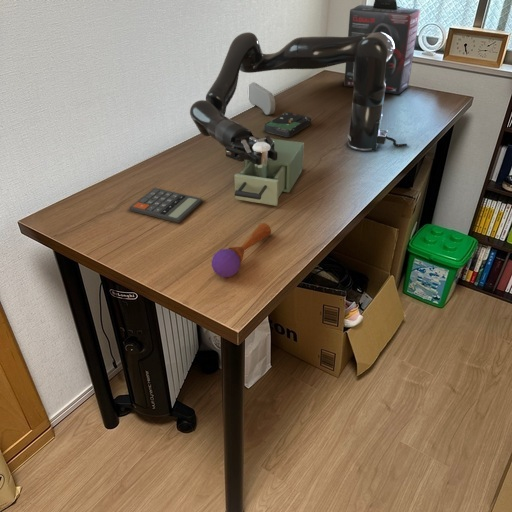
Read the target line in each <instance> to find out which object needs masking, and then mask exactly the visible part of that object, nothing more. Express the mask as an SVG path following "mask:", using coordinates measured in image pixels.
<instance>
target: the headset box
mask: <svg viewBox="0 0 512 512" xmlns="http://www.w3.org/2000/svg"><path fill="white" fill-rule="evenodd" d="M420 15H421V9H420V8H407V7H406V8H405V7H398V3H397V0H374V2H373V5H369V4H359V5H357V6H355V7H354V8H353V7H352V8H351V9H350V10H349V16H348V17H349V18H348V29H347V30H348V32H347V37H351V36H358V35H365V34H370V33H375V32H381V33H384V34H386V35H388V36H389V37H390V38H391V39H392V41H393V43H394V51H393V54H392V56H391V58H390V59H389V60H388V61H387V62H386V68H385V76H384V82H385V84H386V88H385V93H388V94H395V95H399V94H401V93H402V92H403V91H405V90H406V89H407V88H409V85H410V80H411V73H412V65H413V61H414V60H413V58H414V53H415V47H416V40H417V35H418V27H419V20H420ZM353 70H354V62H352V63H345V69H344V80H343V81H344V82H343V86H344V87H349V88H350V87H351V88H354V84H353Z"/></svg>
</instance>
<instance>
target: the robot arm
mask: <svg viewBox="0 0 512 512" xmlns="http://www.w3.org/2000/svg"><path fill="white" fill-rule="evenodd" d="M393 51H394V43H393V41H392V39H391V38H390V37H389V36H388V35H386V34H384V33H381V32H375V33H370V34H365V35H358V36H351V37H348V36H301V37H300V36H299V37H296V38H294V39H292V40H291V41H290V42H288V43H287V44H285V46H283V47H282V48H281V49H280V50H279V51H276V52H273V53H263V51H262V47H261V44H260V41H259V39H258V37H257V35H256V34H254V33H253V32H249V31H248V32H247V31H246V32H242V33H240V34H238V35H237V36H235V38H234V39H233V40H232V42H231V43H230V46H229V47H228V50H227V53H226V56H225V58H224V61H223V63H222V66H221V67H220V68H221V69H220V71H219V73H218V75H217V76H216V79H215V81H213V84H212V85H211V86H210V88H209V89H208V91H207V92H206V95H205V100H204V99H199V100H197V101H195V102H194V103H193V104H192V105H190V108H189V115H190V118H191V120H192V121H193V123H194V125H195V126H196V128H197V130H198V131H199V133H200V134H201V135H203V136H204V137H211V138H212V139H214V140H215V141H216V142H218V143H219V144H220V145H221V146H222V147H223V148H225V157H227V158H229V159H232V160H235V161H237V162H240V163H245V160H247V161H251V162H252V163H254V164H257V165H261V157H260V156H258V155H257V154H255V153H253V149H252V147H253V145H254V144H255V143H257V142H265V143H268V144H269V145H270V147H271V148H270V156H269V158H270V159H272V160H274V161H275V160H277V152H276V151H275V150H274V146H275V143H274V142H273V141H272V139H273V138H271V136H270V135H265V136H264V137H263V138H264V139H261V138H260V137H257V136H255V135H254V134H253V132H252V131H251V130H250V129H249V128H247V127H245V126H244V125H243V124H240V123H239V122H237V121H235V120H232V119H231V118H229V117H227V116H226V113H227V107H228V106H229V104H230V102H231V100H232V99H233V97H234V95H235V93H236V90H237V87H238V82H239V77H240V76H239V75H240V72H242V73H245V74H246V73H247V74H252V73H253V74H254V73H262V72H269V71H278V70H279V71H280V70H318V69H324V68H328V67H333V66H337V65H341V64H346V63H352V62H354V70H353V84H354V87H353V93H352V102H351V112H350V122H349V132H348V133H347V138H348V141H347V147H348V148H350V149H352V150H354V151H358V152H370V151H371V152H372V151H373V152H376V151H377V148H378V147H379V145H380V144H381V145H385V143H386V141H387V140H389V141H391V142H392V145H393V146H394V147H396V148H401V147H407V146H408V143H397V140H396V139H395V138H393V137H391V136H388V130H383V129H381V128H382V119H383V108H384V101H385V93H386V92H385V88H386V84H385V82H384V76H385V68H386V62H387V61H388V60H389V59H390V58H391V56H392V54H393ZM271 145H272V146H271Z"/></svg>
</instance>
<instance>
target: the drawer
mask: <svg viewBox="0 0 512 512" xmlns="http://www.w3.org/2000/svg"><path fill="white" fill-rule="evenodd" d="M233 179H234V198H235V200H240V201H245V202H252V203H258V204H265V205H268V206H269V205H270V206H276V207H277V206H278V204H279V197H280V196H281V195H282V193H283V192H282V191H283V189H284V188H285V186H286V182H287V166H284V165H277V164H270V163H269V166H268V176H267V177H266V178H261V177H256V176H255V167H254V163H252V162H251V161H250V162H249V163H248V164H247V165H246V167H245V166H244V167H243V169H242V170H241V171H240V173H235V174H234V178H233Z"/></svg>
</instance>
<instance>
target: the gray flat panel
mask: <svg viewBox="0 0 512 512" xmlns="http://www.w3.org/2000/svg"><path fill="white" fill-rule="evenodd" d="M248 86H249V98H248V101H249V103H250V104H251V106H257V107H258V108H259V109H261V110H262V112H263V113H264V114H265V115H266V116H269V115H273V114H274V113H275V111H276V100H275V97H274V94H273V93H272V92H271V91H269V90H268V89H266V88H265V87H263V86H262V85H260V84H258V83H257V82H251V83H249V84H248Z"/></svg>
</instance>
